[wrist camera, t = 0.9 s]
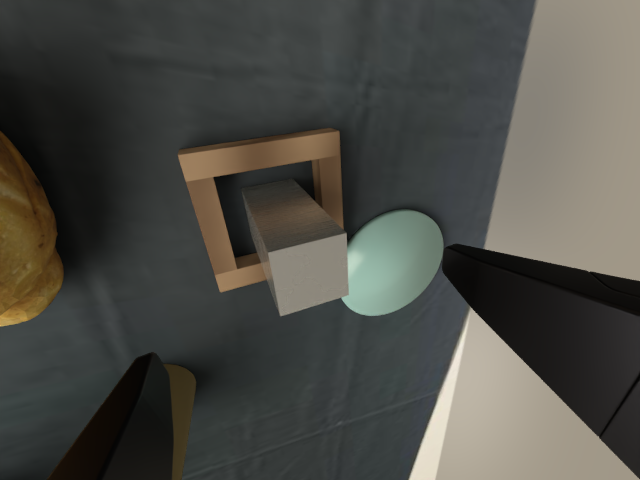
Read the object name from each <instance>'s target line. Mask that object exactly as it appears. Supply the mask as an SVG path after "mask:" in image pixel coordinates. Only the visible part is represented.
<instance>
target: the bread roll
mask: <svg viewBox="0 0 640 480" xmlns="http://www.w3.org/2000/svg"><path fill="white" fill-rule="evenodd" d="M57 234H58V233H57V227H56V221H55V216H54V212H53V210H52V209H51V207H50V206H49V203H48V200H47V197H46V194H45V192H44V190H43V187H42V185H41V184H40V182H39V180H38V179H37V177H36V176H35V174H34V173H33V171H32V169H31V168H30V166H29V164H28V163H27V162H26V161H25V159H24V158H23V157H22V155H21V154H20V153H19V151H18V150H17V149H16V147H15V146H14V145H13V144H12V142H11V141H10V140H9V139H8V138H7V137H6V136H5V135H4V134H3V133H2V132H1V131H0V326H6V325H11V324H17V323H20V322H23V321H27V320H30V319H32V318H34V317H35V316H37V315H38V314H40V313H41V312H42V311H43V310H44V309H45V308H46V307H47V306H49V305H50V304H51V302H52V301H53V300H54V298H55V296H56V295H57V293H58V292H59V290H60V289H61V285H62V282H63V275H64V271H63V265H62V261H61V259H60V256H59V255H58V253H57V251H56V248H55V243H56V237H57Z"/></svg>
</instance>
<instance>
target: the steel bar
mask: <svg viewBox="0 0 640 480" xmlns="http://www.w3.org/2000/svg"><path fill="white" fill-rule="evenodd" d="M241 192H242V196H243V201H244V206H245V210H246V215H247V219H248V224H249V228H250V233H251V237H252V240H253V242H254V245H255V248H256V251H257V253H258V256H259V259H260V262H261V264H262V267H263V270H264V273H265V276H266V278H267V281H268V284H269V287H270V289H271V292H272V295H273V298H274V301H275V303H276V306H277V309H278V312H279V314H280V316H283V315H287V314H290V313H293V312H296V311H299V310H303V309H306V308H309V307H312V306H315V305H319V304H322V303H325V302H328V301H331V300H335V299H338V298H341V297H344V296H347V295H349V285H348V258H347V233H346V232H345V231H344V230H343V229H342V228H341V227H340V226H339V225H338V224H337V223H336V222H335V221H334V220H333V219H332V218H331V217H330V216H329V215H328V214H327V213H326V212H325V211H324V210H323V209H322V208H321V207H320V206H319V205H318V204H317V203H316V202H315V201H314V200H313V199H312V198H311V197H310V196H309V195H308V194H307V193H306V192H305V191H304V190H303V189H302V188H301V187H300V186H299V185H298V184H297V183H296V182H295V181H294V180H293V179H288V180H282V181H277V182H272V183H266V184H261V185H256V186H250V187H245V188H241Z"/></svg>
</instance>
